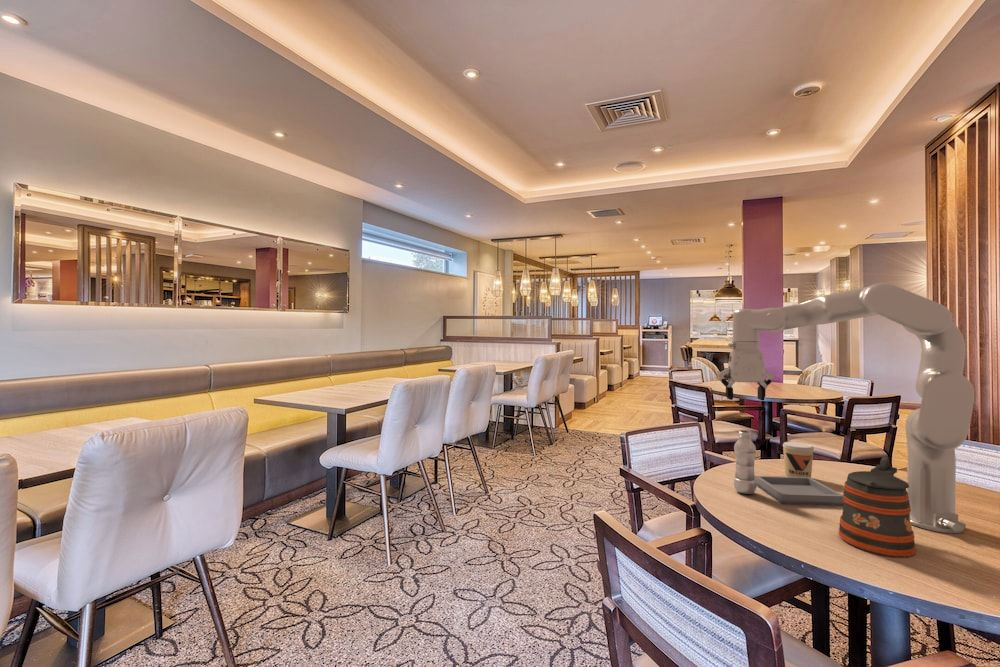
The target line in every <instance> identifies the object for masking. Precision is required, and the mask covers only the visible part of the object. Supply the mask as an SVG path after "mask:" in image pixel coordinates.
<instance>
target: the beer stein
mask: <svg viewBox="0 0 1000 667" xmlns="http://www.w3.org/2000/svg"><path fill="white" fill-rule="evenodd" d="M896 473H898V468H897V467H893V466H891V465H890V458H889V456H886V455H885V456H884V455H882V458H881V459H880V462H879V464H877V465H876V466H875V467H873V468H871V470H869V471H868V470H867V471H866V470H861V471H853V472H850V473H848V474H847V477H846V480H845V482H844V489H843V493H842V495H843V501H844V505H843V506H842V515H840V517H839V518H840V519H839V525H838V526H839V528H838V536H839V538H840V539H841V540H843V541H844V542H846V543H847V544H848V545H851V546H853V547H854V548H857V549H859V550H861V551H864V552H868V553H871V554H875V555H882V556H887V557H892V558H909V557H912V556H915V555H916V545H915V533H914V530H913V529H912V528H913V527H912V525H911V519H910V512H911V509H910V503H909V496H908V492H907V488H909V485H908V483H907V481H906V480H903V479H902V478H900V477H897V476H895V474H896Z"/></svg>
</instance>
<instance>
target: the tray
mask: <svg viewBox="0 0 1000 667" xmlns="http://www.w3.org/2000/svg"><path fill="white" fill-rule="evenodd" d="M755 482H756V487H757V486H758V487H757V488H759V489H760V490H761V491H764V492H765V493H766V494H768V495H769V496H770V497H771V498H772V499H774V500H775V501H777V502H779V504H781V505H797V506H798V505H799V506H824V507H825V506H826V507H827V506H828V507H829V506H830V507H843V505H844V501H843V493H842V494H841V493H840V492H838V491H836V490H834V489H832V488H831V487H829V486H827V485H825V484H823V483H822V482H819V481H818V480H816V479H814V478H812V477H811V478H810V477H786V476H782V475H781V476H780V475H779V476H778V475H777V476H776V475H775V476H773V475H755Z"/></svg>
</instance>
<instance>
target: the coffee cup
mask: <svg viewBox="0 0 1000 667" xmlns="http://www.w3.org/2000/svg"><path fill="white" fill-rule="evenodd" d="M782 447H783V448H782V450H783V463H784V465H783V466H784V474H785V476H784V477H786V476H787V477H810V478H812V472H813V461H814V460H813V459H814V458H813V457H814V450H815V449H814V446H813V445H812V444H809V443H806V442H801V441H785V442H783V443H782Z"/></svg>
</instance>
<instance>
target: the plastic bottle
mask: <svg viewBox="0 0 1000 667" xmlns="http://www.w3.org/2000/svg"><path fill="white" fill-rule="evenodd" d="M737 436H738V439H737V441H736V442H735V443H734V446H733V450H734V451H733V452H734V458H735V471H734V472H735V474H734V478H733V487H734V489H735V491H736V492H737V493H739V494H740V493H741V494H745V495H753V494H755V492H756V490H757V486H756V482H755V476H756V475H755V459H756V451H757V448H756V445H755V444H754V442H753V441H752V440H751V439H752V432H751V431H749V430H738V435H737Z"/></svg>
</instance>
